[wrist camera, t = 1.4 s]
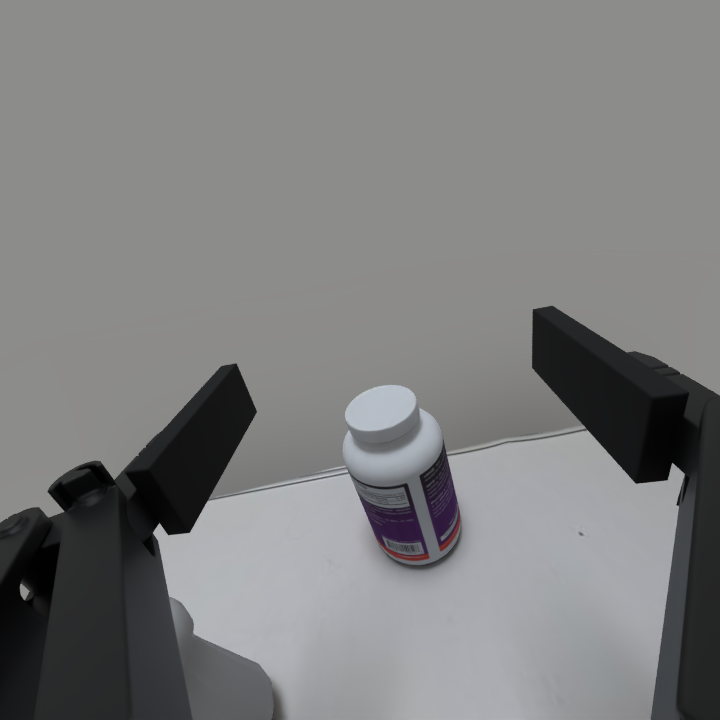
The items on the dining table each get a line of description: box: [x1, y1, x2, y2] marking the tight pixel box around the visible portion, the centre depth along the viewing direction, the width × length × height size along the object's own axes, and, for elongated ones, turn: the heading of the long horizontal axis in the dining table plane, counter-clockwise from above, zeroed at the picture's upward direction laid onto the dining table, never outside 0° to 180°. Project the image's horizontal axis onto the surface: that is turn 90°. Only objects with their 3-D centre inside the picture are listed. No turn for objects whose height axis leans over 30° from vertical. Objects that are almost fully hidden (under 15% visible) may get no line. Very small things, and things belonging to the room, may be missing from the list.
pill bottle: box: [343, 385, 461, 565], centre depth 28 cm, size 8×8×14 cm
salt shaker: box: [169, 597, 274, 720], centre depth 19 cm, size 6×6×13 cm
